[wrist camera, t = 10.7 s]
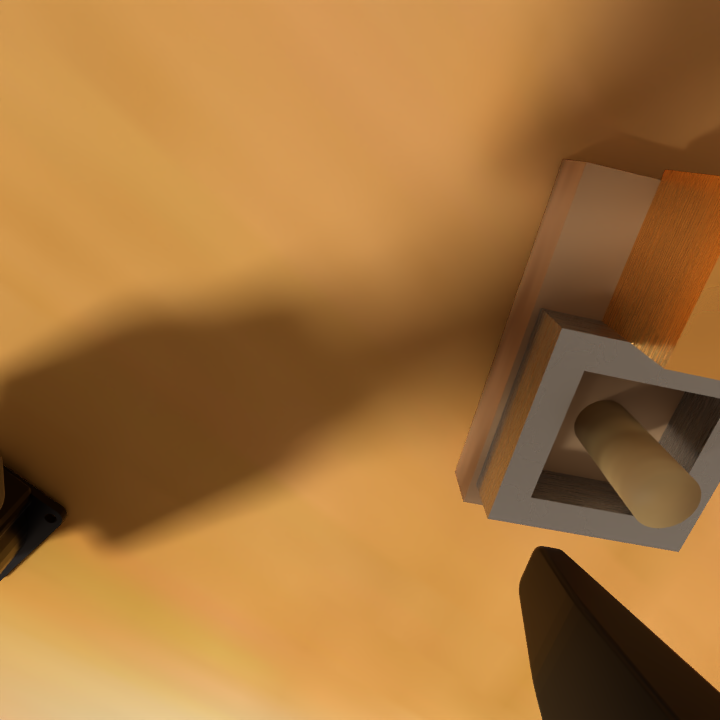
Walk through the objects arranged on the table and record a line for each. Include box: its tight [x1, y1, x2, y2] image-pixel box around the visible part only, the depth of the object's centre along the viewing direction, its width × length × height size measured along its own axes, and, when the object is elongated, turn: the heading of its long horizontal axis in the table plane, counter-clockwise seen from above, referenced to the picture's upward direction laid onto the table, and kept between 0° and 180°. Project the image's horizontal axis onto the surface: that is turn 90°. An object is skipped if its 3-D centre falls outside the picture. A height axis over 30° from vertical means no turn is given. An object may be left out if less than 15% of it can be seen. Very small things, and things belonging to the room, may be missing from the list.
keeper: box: [455, 159, 701, 528], centre depth 18 cm, size 13×8×6 cm, turn 168°
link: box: [476, 170, 720, 552], centre depth 17 cm, size 12×7×4 cm, turn 168°
